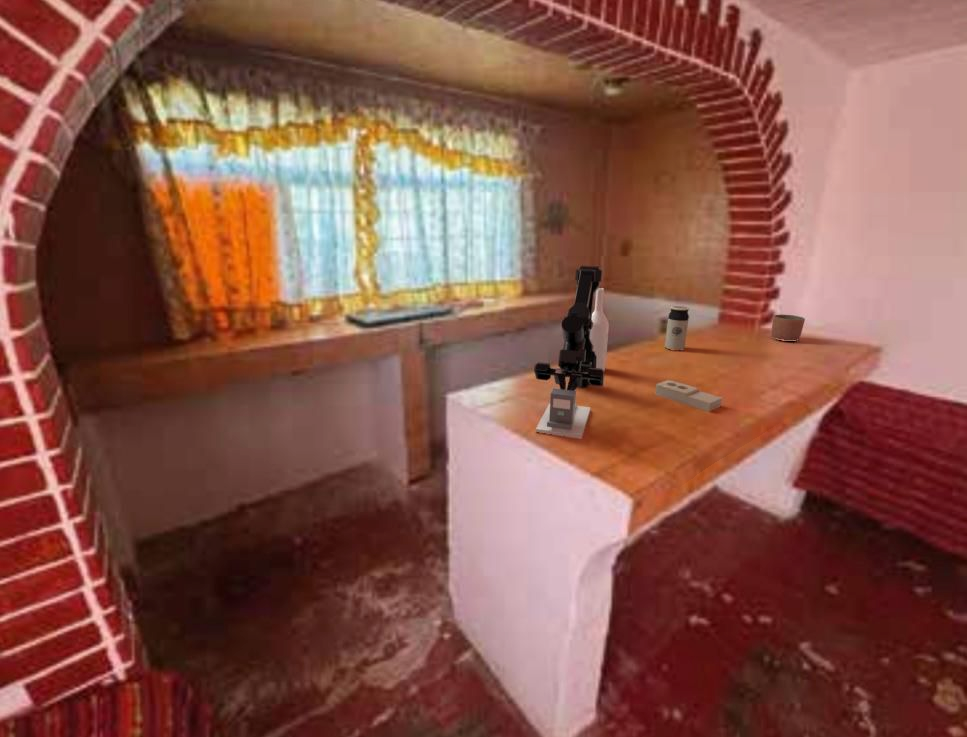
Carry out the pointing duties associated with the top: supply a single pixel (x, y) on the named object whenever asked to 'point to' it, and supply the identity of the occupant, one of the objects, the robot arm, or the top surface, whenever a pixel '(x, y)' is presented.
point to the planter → (787, 327)
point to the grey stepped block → (687, 395)
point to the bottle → (599, 330)
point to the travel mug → (677, 328)
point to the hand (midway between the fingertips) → (564, 401)
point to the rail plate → (565, 429)
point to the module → (562, 406)
